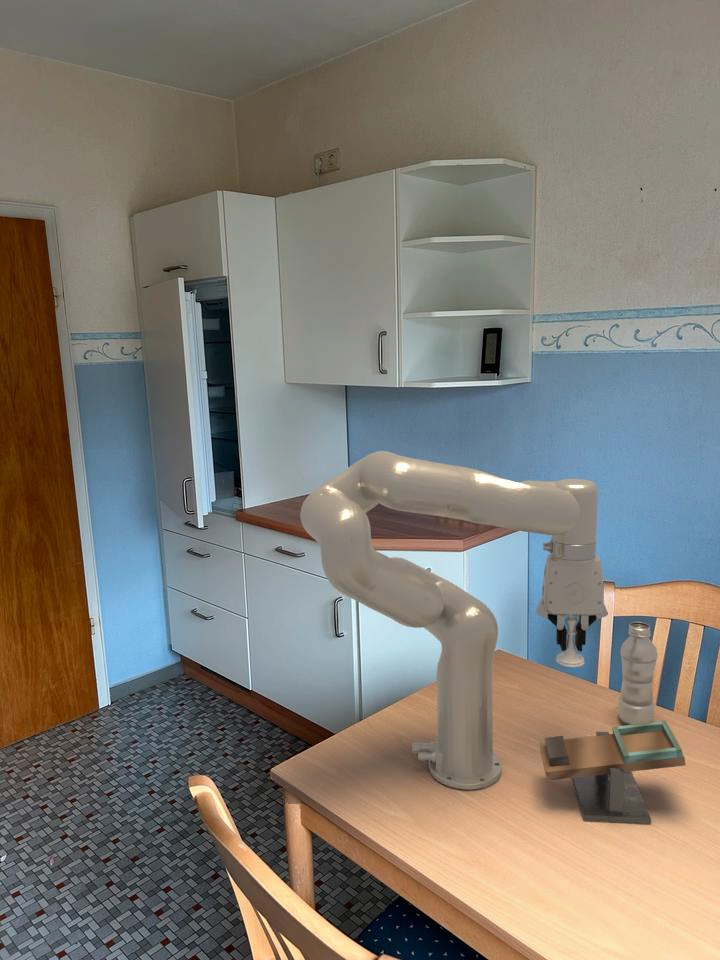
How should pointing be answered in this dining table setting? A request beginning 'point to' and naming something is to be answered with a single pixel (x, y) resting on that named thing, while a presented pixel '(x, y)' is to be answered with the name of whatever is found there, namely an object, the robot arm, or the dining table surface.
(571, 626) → the chess piece
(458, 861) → the dining table surface
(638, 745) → the balance beam
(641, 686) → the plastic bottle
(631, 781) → the stand
